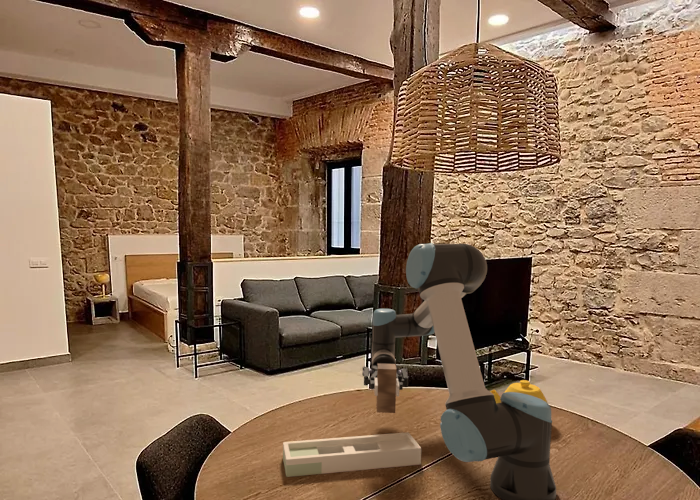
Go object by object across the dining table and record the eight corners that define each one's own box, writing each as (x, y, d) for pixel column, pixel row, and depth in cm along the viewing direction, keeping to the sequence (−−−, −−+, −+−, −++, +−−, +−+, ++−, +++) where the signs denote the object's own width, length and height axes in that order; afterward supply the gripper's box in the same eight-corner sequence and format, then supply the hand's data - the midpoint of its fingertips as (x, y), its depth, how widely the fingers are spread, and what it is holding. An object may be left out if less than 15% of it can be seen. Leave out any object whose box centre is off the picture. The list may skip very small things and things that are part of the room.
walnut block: (394, 406, 137) (395, 364, 136) (395, 413, 132) (396, 369, 131) (376, 405, 137) (377, 363, 136) (376, 412, 132) (377, 368, 131)
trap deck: (408, 447, 140) (408, 432, 140) (420, 464, 131) (421, 448, 130) (282, 458, 133) (283, 442, 132) (286, 476, 123) (286, 459, 123)
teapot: (498, 433, 151) (499, 390, 151) (478, 413, 167) (480, 374, 166) (558, 431, 154) (560, 388, 153) (534, 412, 169) (535, 373, 169)
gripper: (412, 377, 152) (420, 406, 128) (354, 376, 152) (352, 403, 129) (413, 354, 151) (421, 378, 128) (355, 352, 152) (353, 375, 129)
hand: (387, 390), depth 129 cm, fingers closed on walnut block, 5 cm apart
